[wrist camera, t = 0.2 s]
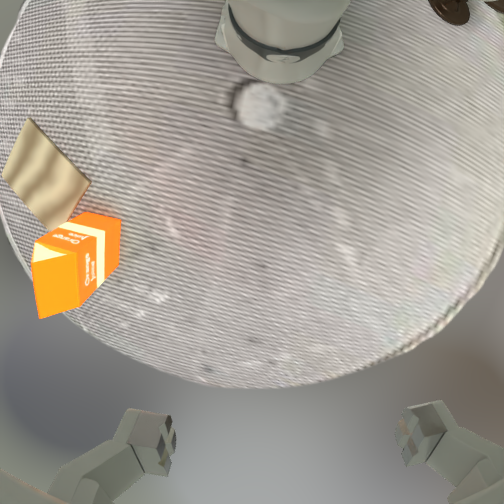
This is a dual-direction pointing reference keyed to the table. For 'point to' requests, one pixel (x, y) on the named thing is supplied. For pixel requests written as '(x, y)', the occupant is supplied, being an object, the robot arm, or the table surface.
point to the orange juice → (74, 261)
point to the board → (44, 177)
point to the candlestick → (460, 9)
